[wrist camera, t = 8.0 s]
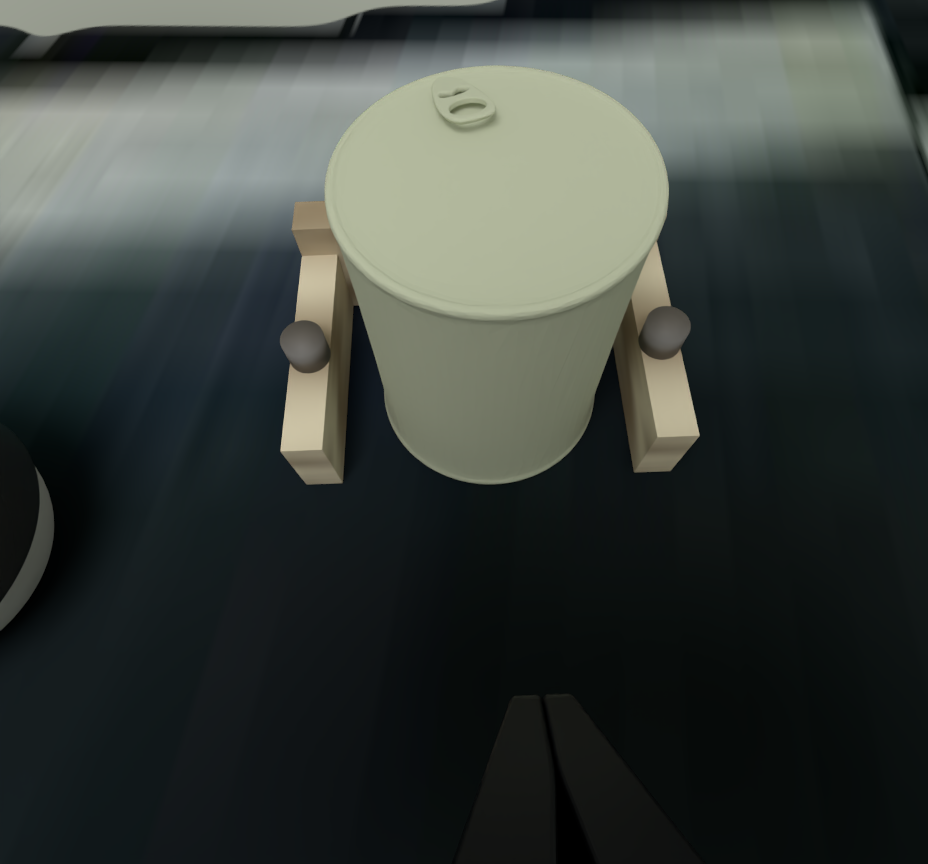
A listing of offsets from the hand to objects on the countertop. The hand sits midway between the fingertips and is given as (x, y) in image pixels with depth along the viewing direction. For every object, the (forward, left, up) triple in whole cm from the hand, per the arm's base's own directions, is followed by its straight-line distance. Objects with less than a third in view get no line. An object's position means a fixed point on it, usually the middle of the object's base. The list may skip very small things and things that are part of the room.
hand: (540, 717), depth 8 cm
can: (+9, +9, -14) cm, 19 cm away
